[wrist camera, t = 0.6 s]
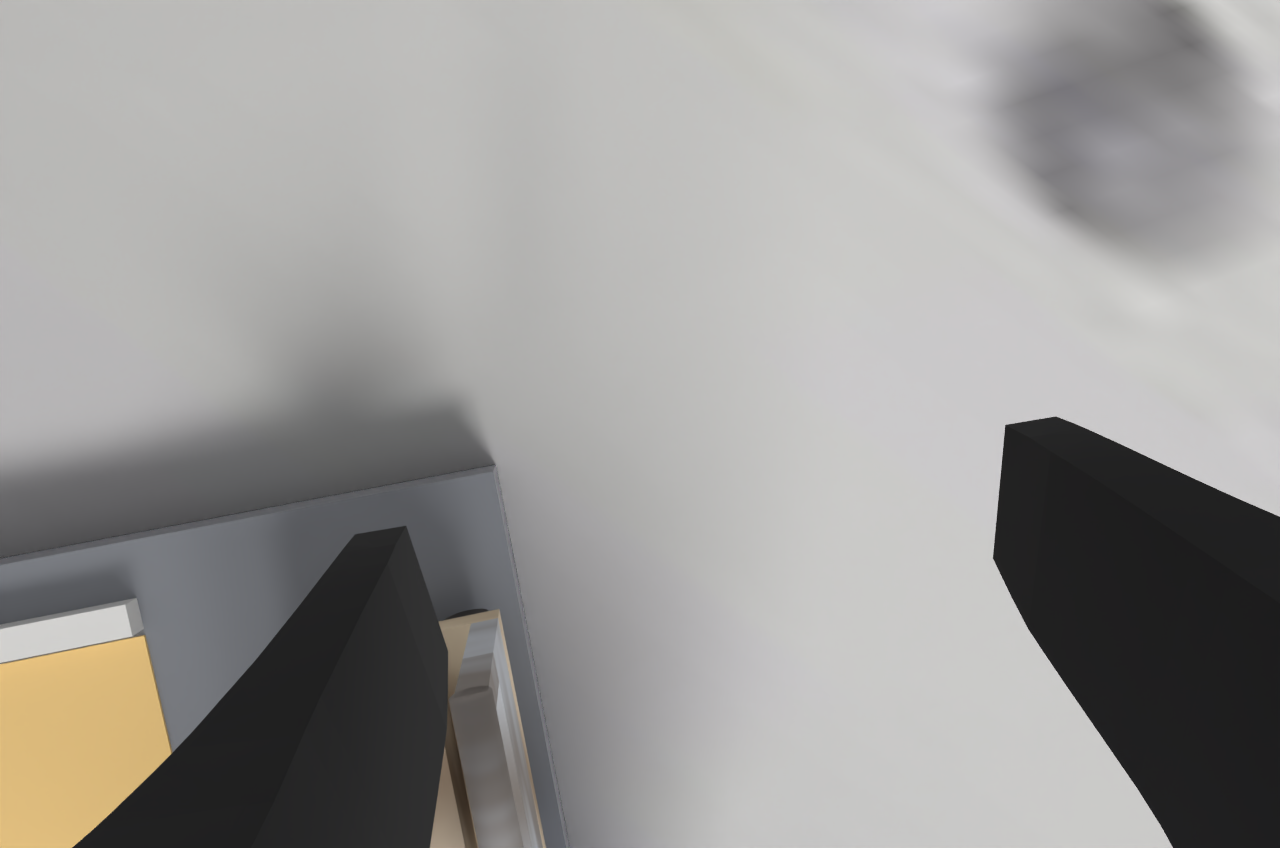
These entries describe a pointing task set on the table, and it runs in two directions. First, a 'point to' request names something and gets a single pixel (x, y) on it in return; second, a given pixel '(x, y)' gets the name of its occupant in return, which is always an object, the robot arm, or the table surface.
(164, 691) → the dock
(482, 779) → the toy vehicle
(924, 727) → the table surface
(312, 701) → the robot arm
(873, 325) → the table surface
